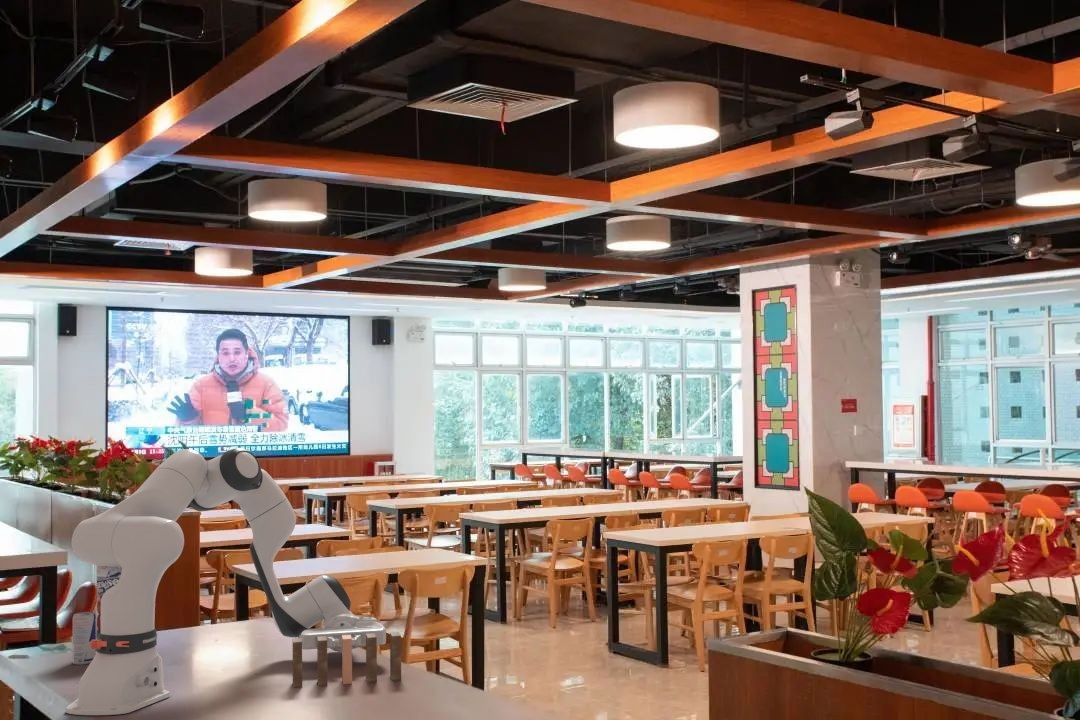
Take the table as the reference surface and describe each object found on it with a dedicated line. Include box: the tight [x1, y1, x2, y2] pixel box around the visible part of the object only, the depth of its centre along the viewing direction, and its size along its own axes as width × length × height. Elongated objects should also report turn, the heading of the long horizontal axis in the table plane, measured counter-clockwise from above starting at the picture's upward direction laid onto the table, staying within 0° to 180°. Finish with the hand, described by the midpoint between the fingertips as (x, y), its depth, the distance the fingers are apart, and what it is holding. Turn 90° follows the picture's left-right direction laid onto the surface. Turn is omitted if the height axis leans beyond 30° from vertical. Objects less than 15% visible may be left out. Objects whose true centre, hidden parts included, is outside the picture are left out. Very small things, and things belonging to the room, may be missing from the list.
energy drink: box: [72, 611, 97, 666], centre depth 279 cm, size 5×5×12 cm
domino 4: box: [365, 633, 378, 683], centre depth 256 cm, size 2×5×10 cm, turn 14°
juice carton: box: [96, 565, 122, 640], centre depth 291 cm, size 9×10×27 cm
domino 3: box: [341, 635, 353, 685], centre depth 254 cm, size 2×5×10 cm, turn 12°
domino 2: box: [316, 636, 328, 687], centre depth 253 cm, size 2×5×10 cm, turn 13°
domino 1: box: [291, 637, 303, 689], centre depth 252 cm, size 2×5×10 cm, turn 14°
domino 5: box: [389, 631, 402, 682], centre depth 257 cm, size 2×5×10 cm, turn 14°
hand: (345, 643), depth 262 cm, fingers open, 3 cm apart
